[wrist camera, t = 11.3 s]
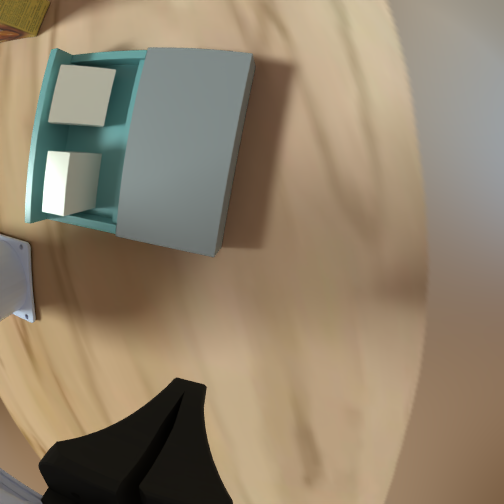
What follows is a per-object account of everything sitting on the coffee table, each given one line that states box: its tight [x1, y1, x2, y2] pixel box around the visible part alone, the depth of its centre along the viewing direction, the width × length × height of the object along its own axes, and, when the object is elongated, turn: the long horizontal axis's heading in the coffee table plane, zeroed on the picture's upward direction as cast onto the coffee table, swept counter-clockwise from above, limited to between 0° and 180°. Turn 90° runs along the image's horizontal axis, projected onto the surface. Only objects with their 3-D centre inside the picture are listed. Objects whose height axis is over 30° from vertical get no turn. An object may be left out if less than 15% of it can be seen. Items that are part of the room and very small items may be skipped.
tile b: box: [48, 65, 116, 128], centre depth 17 cm, size 4×4×2 cm
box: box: [25, 48, 147, 234], centre depth 18 cm, size 7×12×4 cm, turn 169°
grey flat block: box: [116, 48, 256, 257], centre depth 19 cm, size 7×12×2 cm, turn 169°
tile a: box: [42, 151, 102, 216], centre depth 19 cm, size 4×4×2 cm
